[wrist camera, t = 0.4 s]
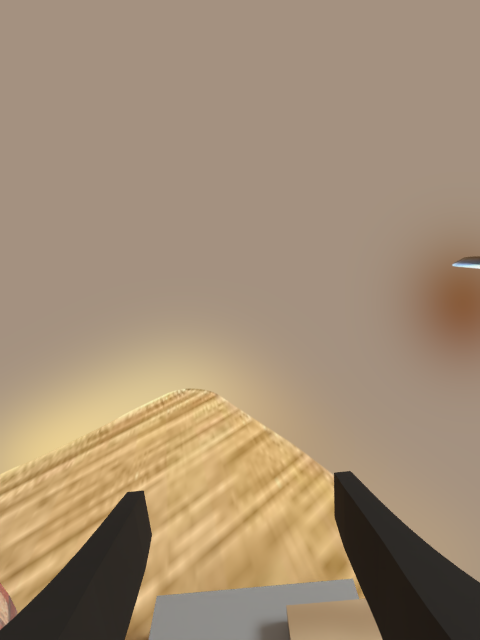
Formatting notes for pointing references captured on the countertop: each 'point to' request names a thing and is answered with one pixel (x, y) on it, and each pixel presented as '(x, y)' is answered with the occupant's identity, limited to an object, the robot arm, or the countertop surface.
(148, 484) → the countertop surface
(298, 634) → the thin wooden plank
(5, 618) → the pottery
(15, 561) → the countertop surface
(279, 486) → the countertop surface
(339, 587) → the lid
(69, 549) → the countertop surface
